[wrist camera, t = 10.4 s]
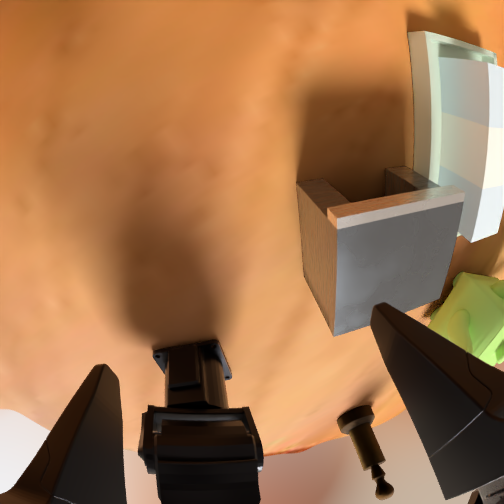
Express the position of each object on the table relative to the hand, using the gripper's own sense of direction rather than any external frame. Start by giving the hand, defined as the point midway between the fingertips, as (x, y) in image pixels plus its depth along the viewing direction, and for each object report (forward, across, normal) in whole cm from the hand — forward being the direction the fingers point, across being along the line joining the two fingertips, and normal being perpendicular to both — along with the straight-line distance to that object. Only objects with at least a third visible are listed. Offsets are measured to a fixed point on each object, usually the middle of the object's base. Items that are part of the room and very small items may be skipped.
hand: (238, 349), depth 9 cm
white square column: (+12, -20, -2) cm, 23 cm away
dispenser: (+12, -10, +4) cm, 16 cm away
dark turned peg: (+12, -14, +43) cm, 47 cm away
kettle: (+12, -27, +18) cm, 35 cm away
